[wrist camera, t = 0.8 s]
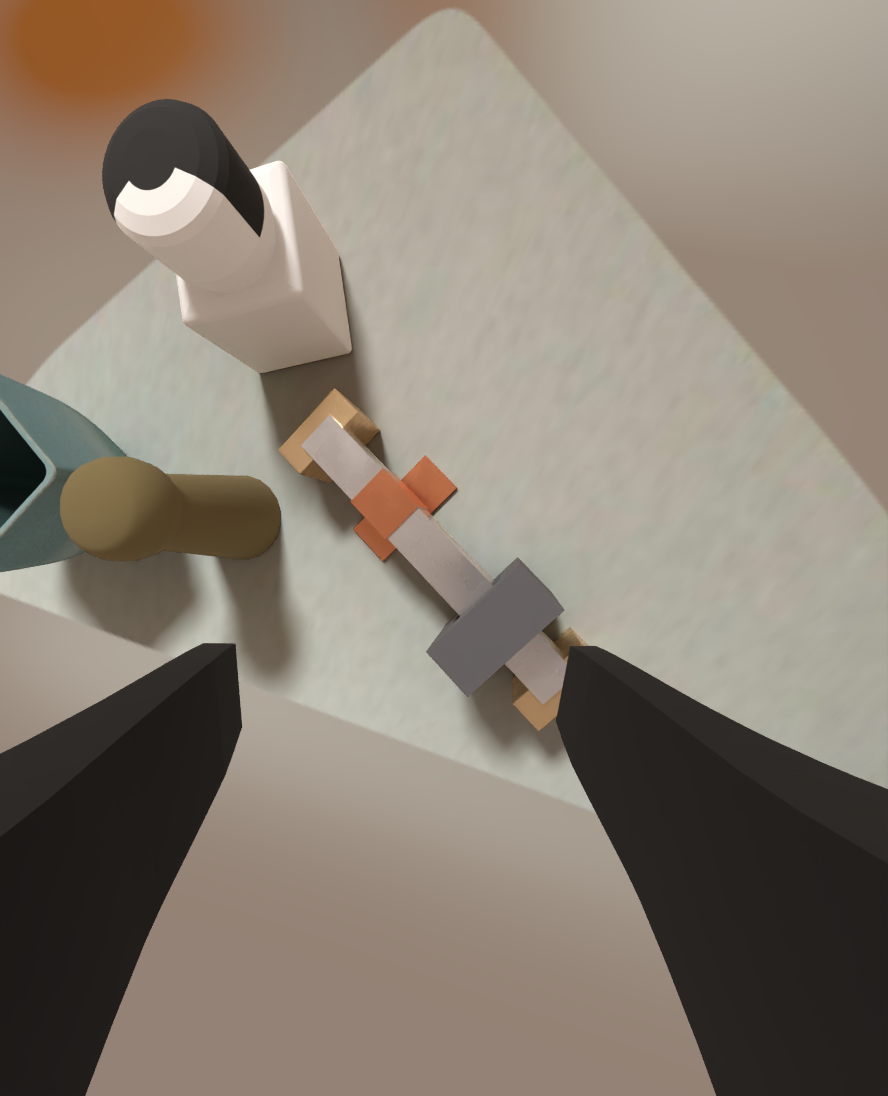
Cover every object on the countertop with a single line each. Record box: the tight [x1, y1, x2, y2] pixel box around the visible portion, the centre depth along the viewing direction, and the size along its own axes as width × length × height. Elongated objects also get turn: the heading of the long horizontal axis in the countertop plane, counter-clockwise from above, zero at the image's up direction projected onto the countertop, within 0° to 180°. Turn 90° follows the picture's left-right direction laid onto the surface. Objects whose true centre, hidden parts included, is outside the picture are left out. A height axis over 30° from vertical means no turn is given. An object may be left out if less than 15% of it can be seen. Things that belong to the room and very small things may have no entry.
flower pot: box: [0, 374, 126, 572], centre depth 27 cm, size 9×9×9 cm
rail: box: [278, 388, 588, 731], centre depth 25 cm, size 22×7×5 cm, turn 44°
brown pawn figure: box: [60, 457, 281, 561], centre depth 24 cm, size 6×6×11 cm
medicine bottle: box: [102, 99, 352, 373], centre depth 23 cm, size 7×7×12 cm
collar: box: [426, 558, 564, 697], centre depth 23 cm, size 3×6×7 cm, turn 134°
